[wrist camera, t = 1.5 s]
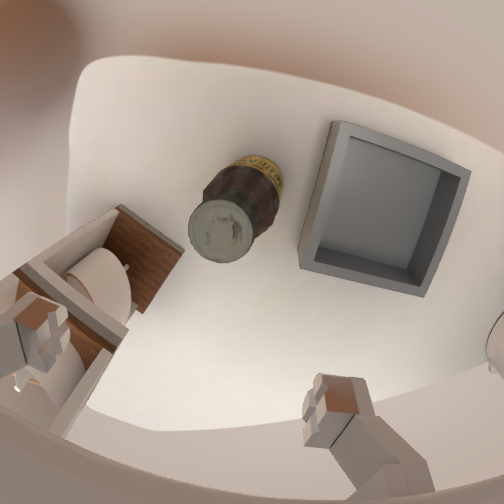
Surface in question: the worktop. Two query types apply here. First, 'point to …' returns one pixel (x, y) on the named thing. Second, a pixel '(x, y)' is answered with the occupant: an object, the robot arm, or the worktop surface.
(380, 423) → the robot arm
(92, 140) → the worktop surface
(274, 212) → the sauce bottle
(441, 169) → the box
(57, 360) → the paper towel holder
